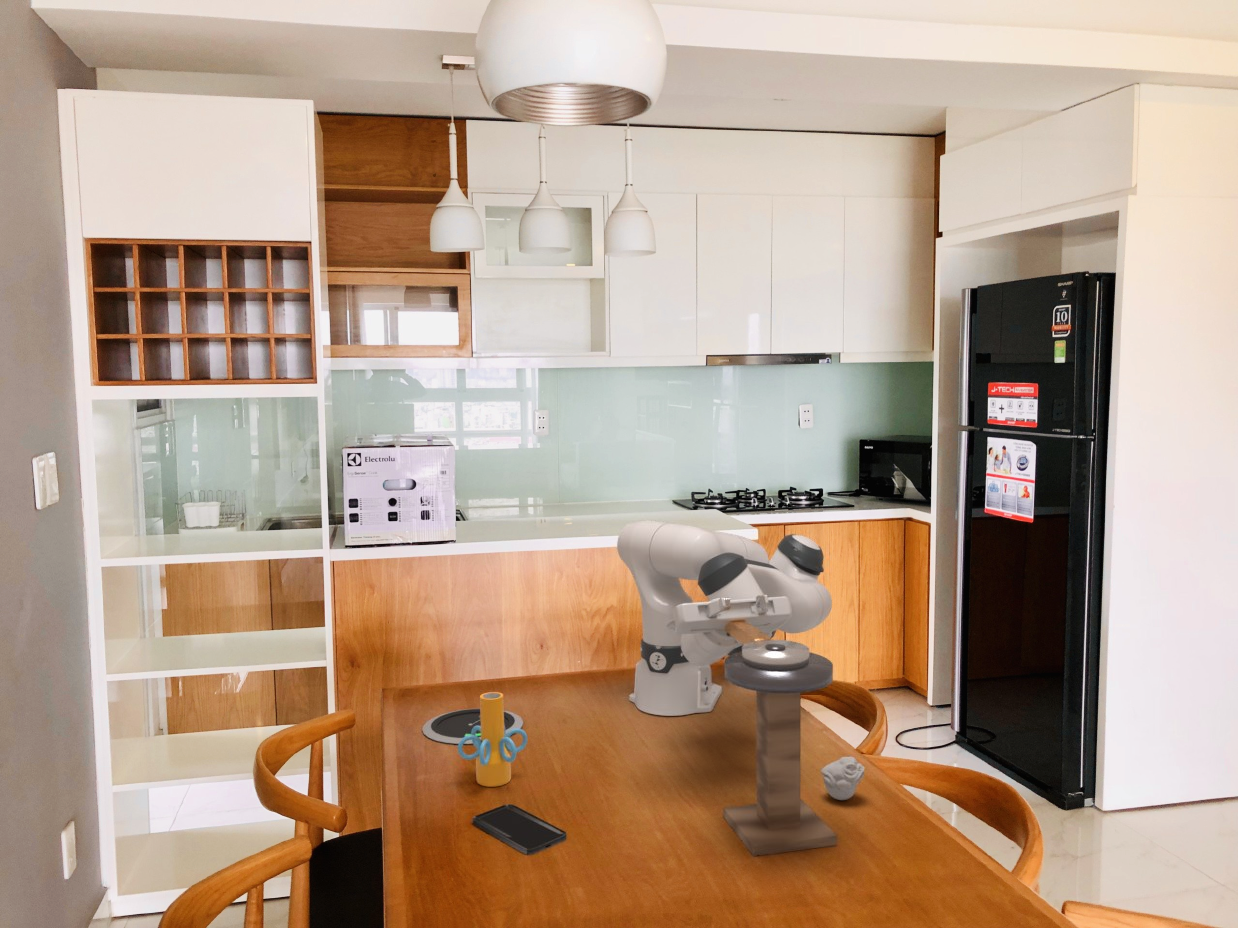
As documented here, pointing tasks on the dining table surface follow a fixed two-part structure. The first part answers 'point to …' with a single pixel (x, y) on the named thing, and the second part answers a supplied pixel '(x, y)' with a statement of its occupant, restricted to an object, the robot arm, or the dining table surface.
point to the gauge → (462, 726)
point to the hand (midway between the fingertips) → (745, 600)
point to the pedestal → (779, 760)
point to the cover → (767, 649)
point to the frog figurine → (842, 777)
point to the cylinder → (492, 743)
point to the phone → (519, 829)
